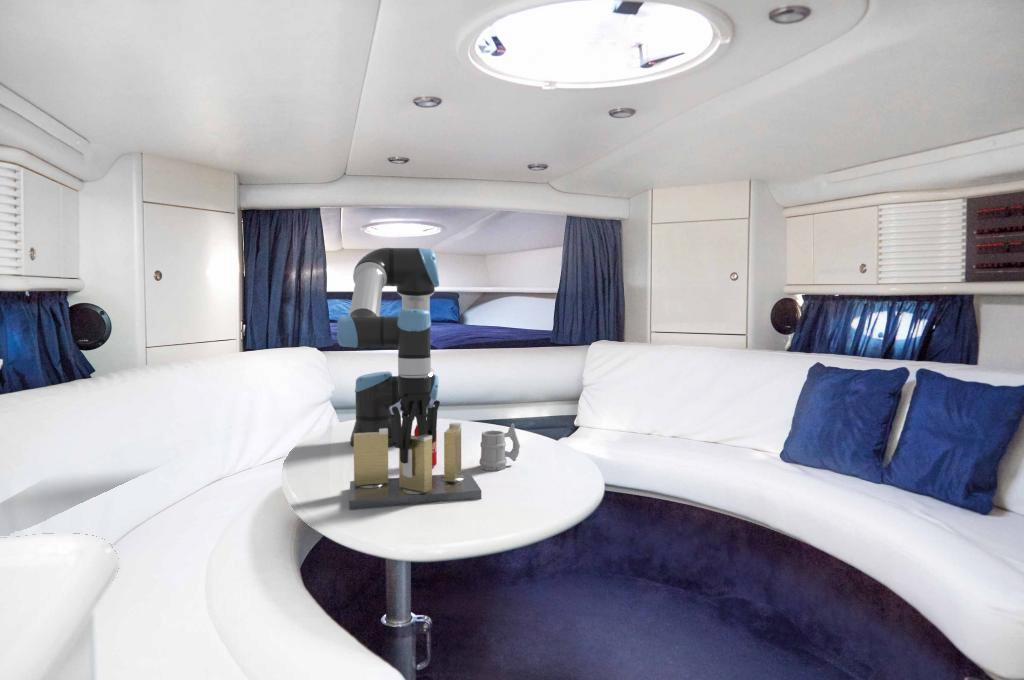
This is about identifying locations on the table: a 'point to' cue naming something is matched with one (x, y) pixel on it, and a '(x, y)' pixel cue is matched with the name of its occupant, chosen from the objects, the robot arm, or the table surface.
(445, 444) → the tan upright panel
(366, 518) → the table surface
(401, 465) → the tan grey-ended block
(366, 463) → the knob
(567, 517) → the table surface
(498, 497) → the table surface
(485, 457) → the mug
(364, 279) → the robot arm
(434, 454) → the beverage can
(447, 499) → the plate
